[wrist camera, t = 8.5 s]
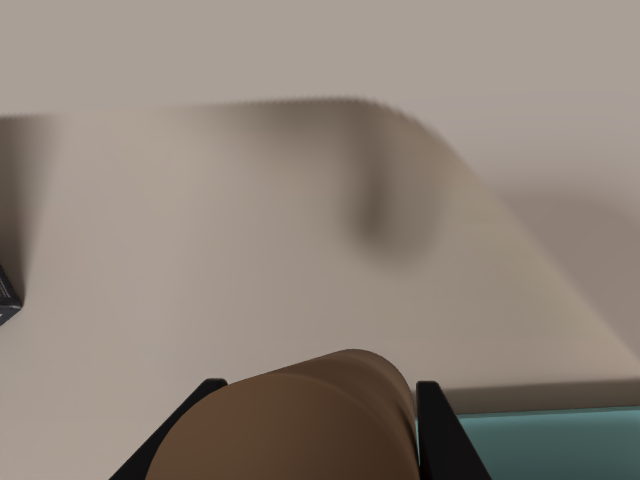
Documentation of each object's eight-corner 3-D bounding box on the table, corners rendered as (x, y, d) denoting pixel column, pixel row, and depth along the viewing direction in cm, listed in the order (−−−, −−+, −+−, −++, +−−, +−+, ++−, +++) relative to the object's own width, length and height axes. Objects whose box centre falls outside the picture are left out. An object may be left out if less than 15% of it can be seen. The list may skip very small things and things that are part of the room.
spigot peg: (290, 459, 16) (111, 657, 6) (306, 341, 17) (165, 356, 7) (408, 482, 15) (410, 751, 5) (419, 357, 16) (439, 400, 6)
